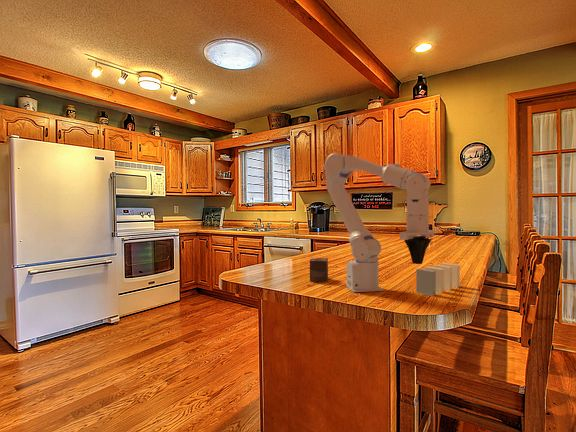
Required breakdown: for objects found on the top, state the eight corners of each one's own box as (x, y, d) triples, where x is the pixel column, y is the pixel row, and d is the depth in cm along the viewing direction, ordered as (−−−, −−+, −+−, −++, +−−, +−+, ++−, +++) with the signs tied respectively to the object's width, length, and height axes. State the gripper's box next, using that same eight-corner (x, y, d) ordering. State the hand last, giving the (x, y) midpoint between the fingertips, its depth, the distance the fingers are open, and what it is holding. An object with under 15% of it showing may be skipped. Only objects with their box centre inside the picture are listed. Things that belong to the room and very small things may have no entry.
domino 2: (441, 293, 92) (441, 269, 92) (425, 289, 96) (425, 267, 96) (443, 292, 93) (444, 268, 93) (427, 288, 97) (428, 266, 97)
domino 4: (457, 287, 98) (457, 265, 98) (441, 284, 102) (441, 263, 102) (459, 286, 99) (459, 265, 99) (443, 283, 103) (443, 262, 103)
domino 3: (449, 290, 95) (449, 267, 95) (433, 287, 99) (433, 265, 99) (452, 289, 96) (452, 266, 96) (436, 286, 100) (436, 264, 100)
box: (326, 282, 107) (326, 261, 106) (309, 281, 108) (309, 260, 108) (328, 278, 113) (328, 258, 112) (311, 277, 114) (311, 257, 114)
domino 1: (432, 296, 89) (432, 271, 89) (416, 292, 93) (416, 269, 93) (435, 295, 90) (435, 271, 90) (419, 291, 94) (419, 268, 94)
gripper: (416, 216, 81) (416, 268, 81) (444, 215, 90) (444, 262, 90) (392, 216, 86) (392, 264, 87) (421, 215, 95) (421, 259, 96)
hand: (417, 263), depth 89 cm, fingers closed
